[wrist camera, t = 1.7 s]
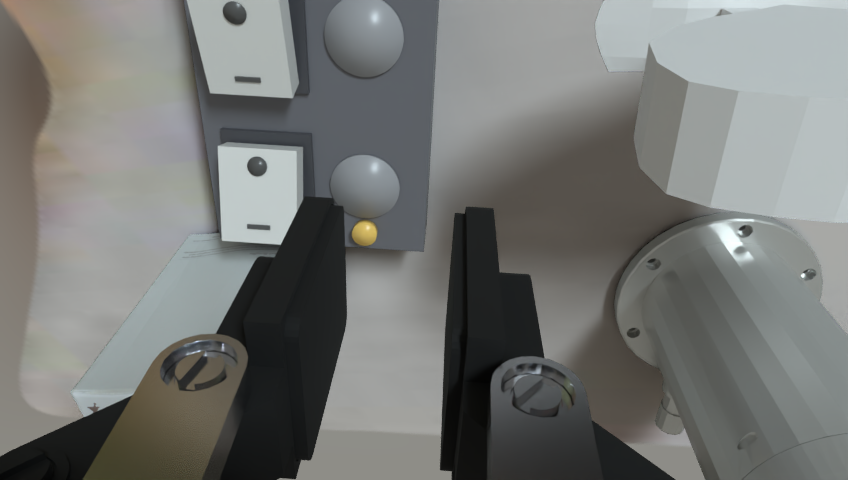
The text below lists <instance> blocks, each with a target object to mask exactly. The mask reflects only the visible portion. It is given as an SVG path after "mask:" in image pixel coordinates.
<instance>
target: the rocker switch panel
mask: <svg viewBox="0 0 848 480" xmlns="http://www.w3.org/2000/svg"><path fill="white" fill-rule="evenodd" d="M288 3H289V11H290V18H291V26H292V34H293V41H294V49H295V56H296V64H297V72H298V79H299V84H298V87H297V89H296V92H295V94H294V97H293V98H279V97H263V96H247V95H231V94H215V93H210V91H209V87H208V83H207V79H206V75H205V71H204V67H203V63H202V59H201V55H200V51H199V47H198V43H197V39H196V35H195V31H194V27H193V23H192V19H191V15H190V11H189V7H188V3H187V0H184V5H185V11H186V18H187V24H188V31H189V38H190V44H191V51H192V57H193V64H194V70H195V77H196V84H197V90H198V97H199V103H200V110H201V116H202V123H203V130H204V136H205V143H206V149H207V156H208V162H209V169H210V176H211V182H212V189H213V195H214V202H215V208H216V215H217V222H218V228H219V235H220V238H222V233H221V211H220V188H219V166H218V146H219V145H222V144H224V143H227V142H233V143H249V144H264V145H280V146H296V147H303V198H304V197H305V196H310V197H325V198H333V199H334V203H335V205H339V206H343V207H344V226H345V246H346V247H361V248H376V249H391V250H406V251H420V252H424V244H425V234H426V225H427V208H428V190H429V172H430V154H431V136H432V117H433V99H434V81H435V63H436V44H437V26H438V8H439V0H288Z"/></svg>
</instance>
